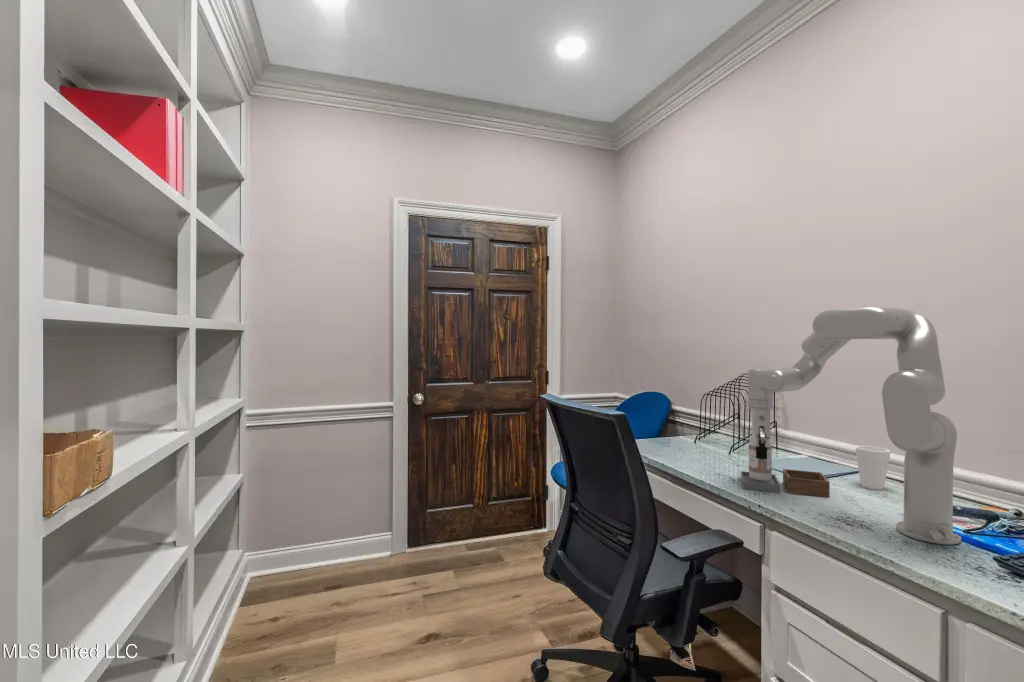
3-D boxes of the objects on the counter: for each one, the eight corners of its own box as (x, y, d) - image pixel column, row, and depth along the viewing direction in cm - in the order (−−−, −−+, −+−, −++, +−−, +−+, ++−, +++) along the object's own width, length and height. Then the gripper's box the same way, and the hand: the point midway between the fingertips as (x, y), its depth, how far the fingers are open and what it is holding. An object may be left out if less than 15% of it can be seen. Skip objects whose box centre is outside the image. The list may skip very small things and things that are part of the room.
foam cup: (896, 492, 156) (896, 452, 156) (864, 490, 158) (864, 451, 158) (879, 483, 166) (880, 446, 165) (850, 481, 167) (850, 445, 167)
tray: (780, 493, 155) (780, 485, 155) (743, 488, 159) (743, 481, 159) (775, 481, 167) (775, 474, 167) (740, 478, 171) (740, 471, 171)
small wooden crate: (829, 497, 151) (829, 481, 151) (788, 493, 155) (788, 477, 155) (821, 487, 161) (821, 472, 161) (782, 483, 165) (783, 469, 165)
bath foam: (744, 476, 165) (744, 419, 165) (760, 474, 167) (760, 418, 167) (760, 482, 159) (760, 422, 159) (776, 480, 161) (776, 421, 161)
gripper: (776, 408, 153) (776, 463, 153) (769, 401, 170) (769, 451, 169) (750, 406, 156) (750, 461, 156) (745, 400, 172) (746, 449, 172)
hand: (760, 455), depth 163 cm, fingers closed on bath foam, 7 cm apart
